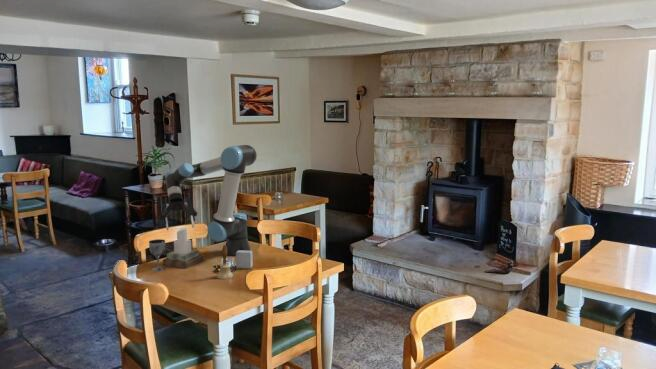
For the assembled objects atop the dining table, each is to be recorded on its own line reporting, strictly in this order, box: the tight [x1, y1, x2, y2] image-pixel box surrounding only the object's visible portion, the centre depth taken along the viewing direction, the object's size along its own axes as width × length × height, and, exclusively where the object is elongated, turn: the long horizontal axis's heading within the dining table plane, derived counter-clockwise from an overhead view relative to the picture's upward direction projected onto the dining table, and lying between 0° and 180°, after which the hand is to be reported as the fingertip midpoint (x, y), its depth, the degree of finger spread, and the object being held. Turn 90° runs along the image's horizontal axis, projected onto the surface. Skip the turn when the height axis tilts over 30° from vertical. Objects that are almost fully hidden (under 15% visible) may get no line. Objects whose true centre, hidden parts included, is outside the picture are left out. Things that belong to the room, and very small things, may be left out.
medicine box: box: [235, 250, 254, 270], centre depth 266 cm, size 8×4×9 cm, turn 84°
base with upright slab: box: [173, 227, 192, 254], centre depth 273 cm, size 9×9×12 cm
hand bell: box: [216, 244, 234, 280], centre depth 252 cm, size 8×8×16 cm
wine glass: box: [148, 238, 166, 272], centre depth 262 cm, size 8×8×15 cm
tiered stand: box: [162, 249, 204, 269], centre depth 274 cm, size 15×15×6 cm
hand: (180, 227), depth 275 cm, fingers open, 13 cm apart
